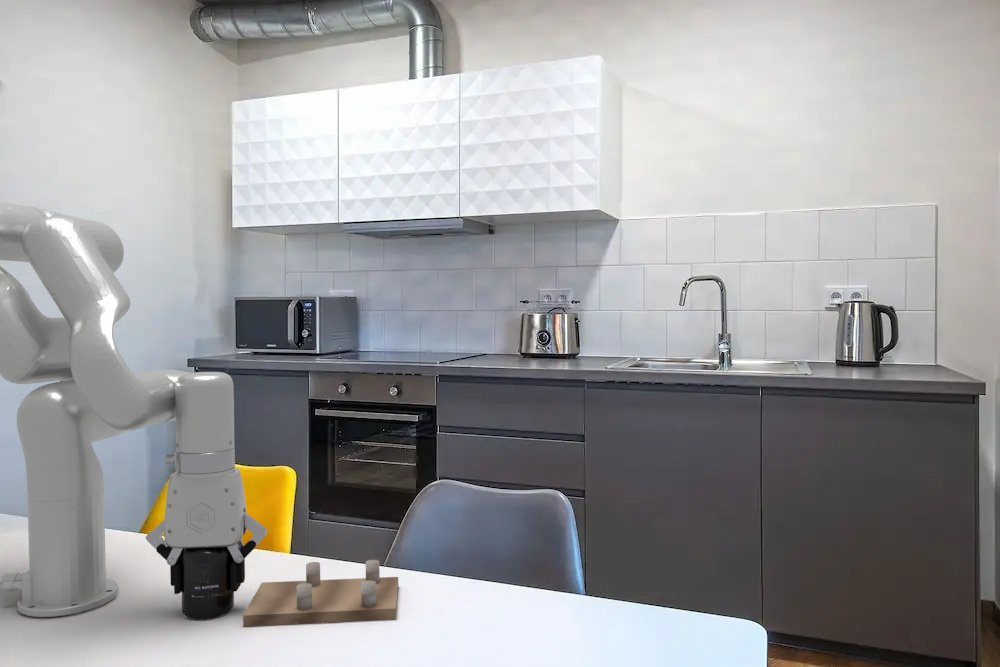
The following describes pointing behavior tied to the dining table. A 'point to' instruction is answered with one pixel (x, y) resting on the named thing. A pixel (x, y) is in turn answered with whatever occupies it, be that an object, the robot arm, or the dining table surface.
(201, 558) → the supplement bottle
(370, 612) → the peg board
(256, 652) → the dining table surface
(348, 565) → the dining table surface
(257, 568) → the dining table surface
